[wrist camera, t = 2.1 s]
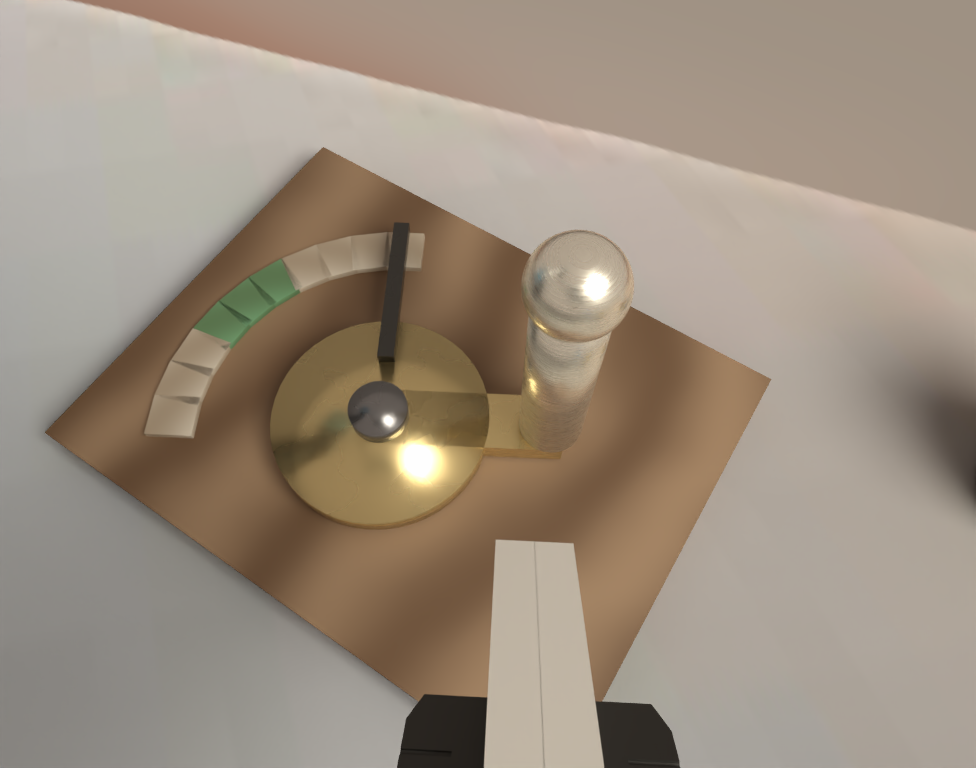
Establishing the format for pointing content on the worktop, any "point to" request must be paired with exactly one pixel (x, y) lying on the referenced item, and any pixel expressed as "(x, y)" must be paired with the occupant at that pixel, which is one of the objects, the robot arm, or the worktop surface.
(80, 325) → the worktop surface
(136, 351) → the gauge board
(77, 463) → the worktop surface
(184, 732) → the worktop surface
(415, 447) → the dial
